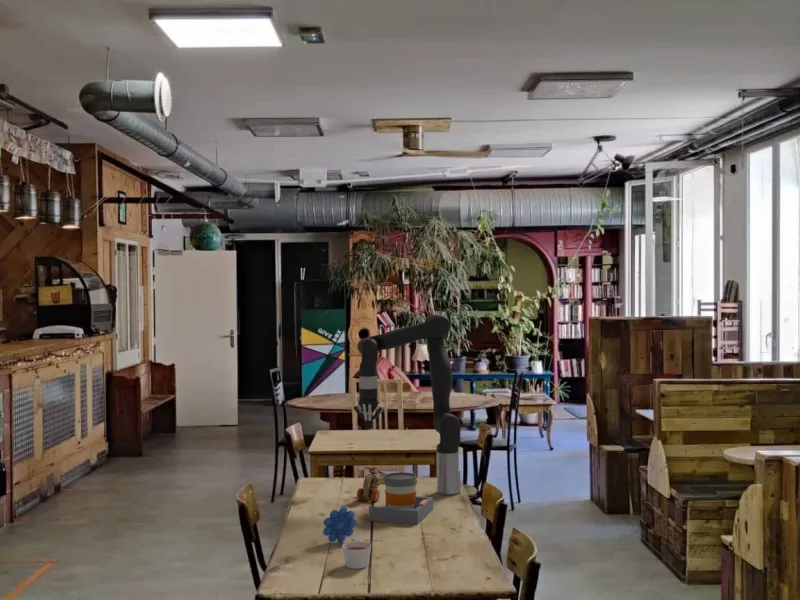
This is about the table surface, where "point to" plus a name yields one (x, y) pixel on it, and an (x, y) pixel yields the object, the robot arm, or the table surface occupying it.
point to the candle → (356, 554)
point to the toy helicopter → (371, 485)
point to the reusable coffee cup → (400, 490)
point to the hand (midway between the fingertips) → (369, 429)
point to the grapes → (339, 525)
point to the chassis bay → (403, 512)
